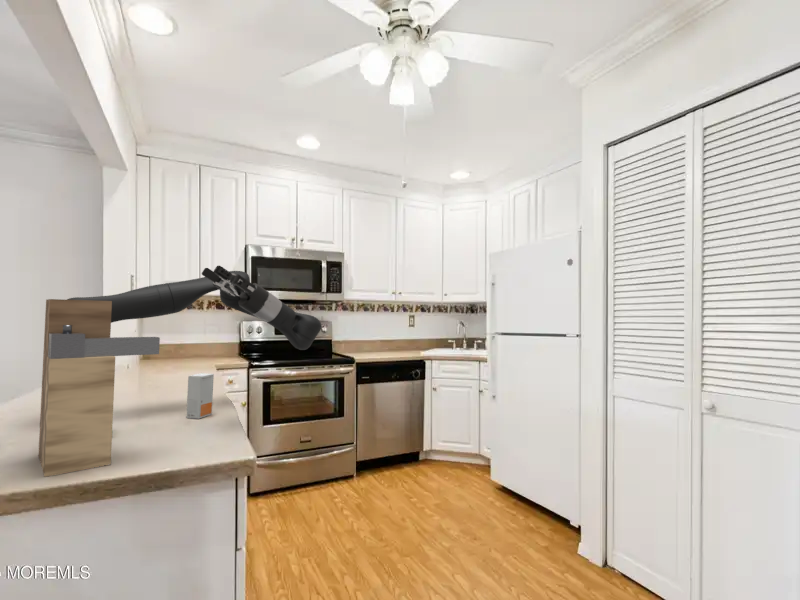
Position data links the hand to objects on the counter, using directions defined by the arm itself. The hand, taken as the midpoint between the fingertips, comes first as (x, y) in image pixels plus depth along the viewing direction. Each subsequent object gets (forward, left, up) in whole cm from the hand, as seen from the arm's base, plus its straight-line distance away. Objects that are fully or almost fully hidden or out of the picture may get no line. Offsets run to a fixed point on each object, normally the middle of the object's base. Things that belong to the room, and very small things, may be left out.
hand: (209, 269), depth 110 cm
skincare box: (-17, +5, -41) cm, 45 cm away
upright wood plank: (+5, -27, -41) cm, 49 cm away
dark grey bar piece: (+10, -23, -20) cm, 32 cm away
